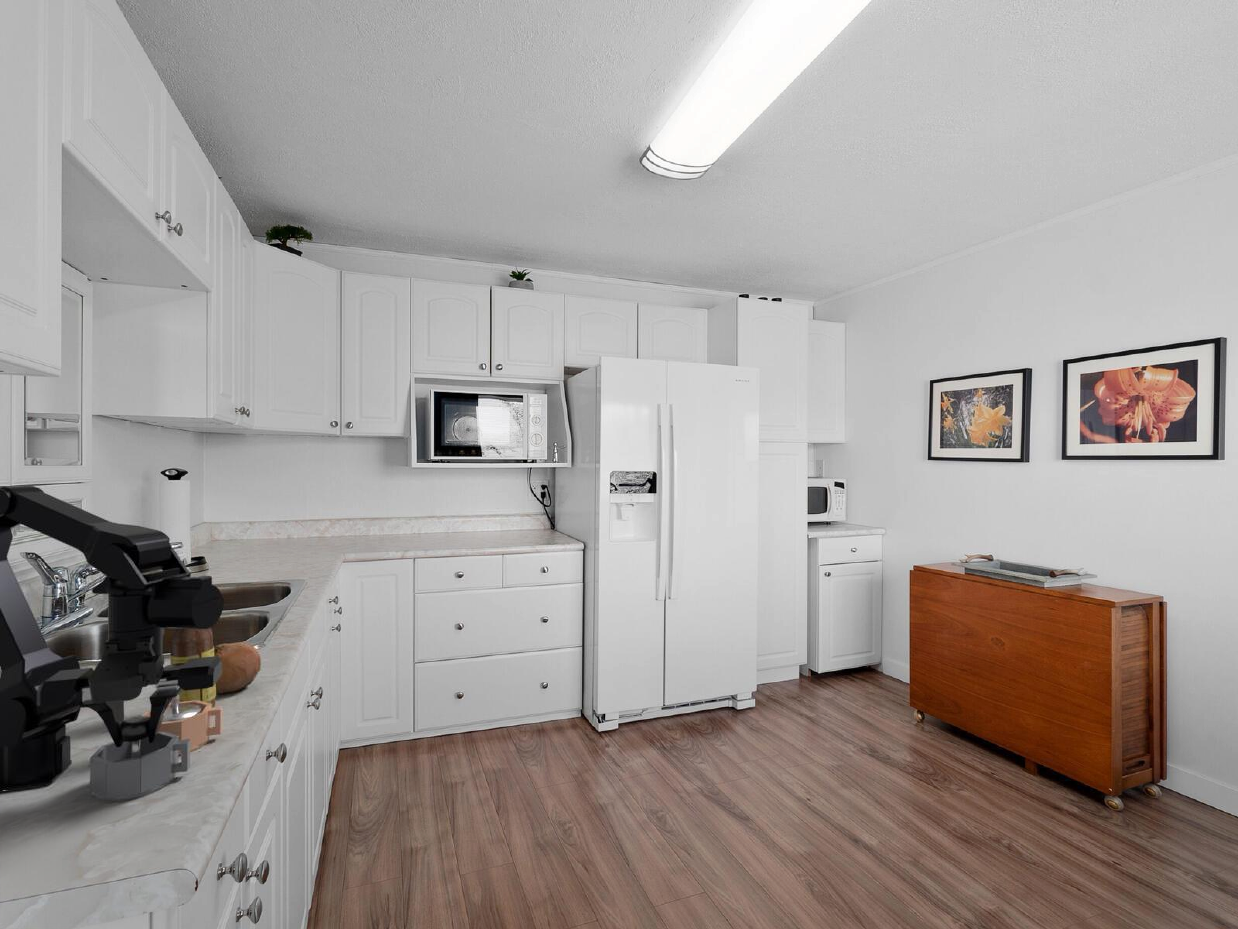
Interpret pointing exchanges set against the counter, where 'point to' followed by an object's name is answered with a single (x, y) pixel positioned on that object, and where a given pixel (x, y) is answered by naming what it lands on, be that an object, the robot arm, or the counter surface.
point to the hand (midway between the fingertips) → (135, 744)
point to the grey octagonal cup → (137, 767)
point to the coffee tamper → (135, 732)
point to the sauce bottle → (189, 647)
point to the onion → (237, 666)
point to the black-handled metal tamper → (178, 710)
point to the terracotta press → (195, 725)
